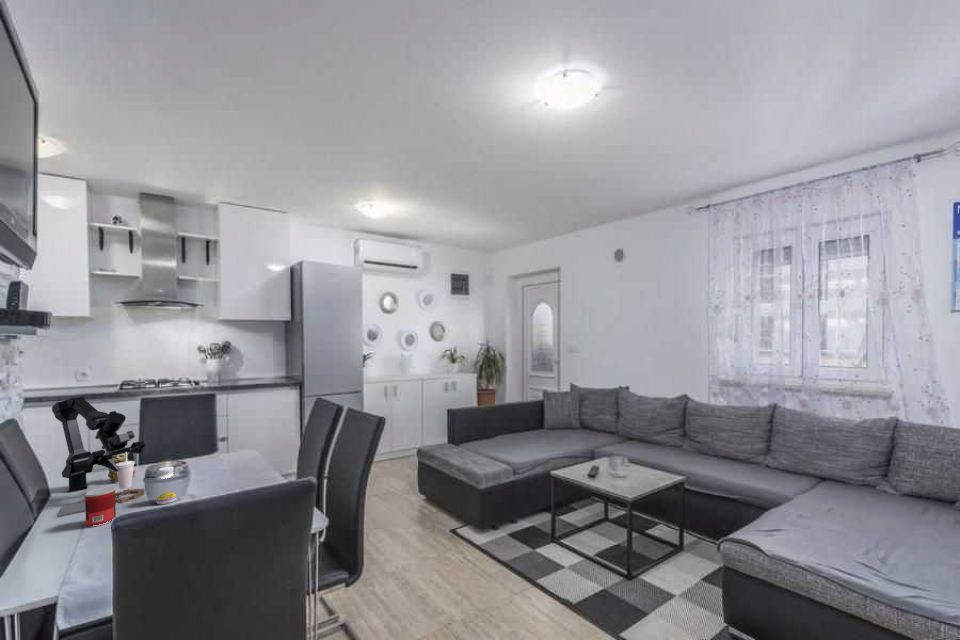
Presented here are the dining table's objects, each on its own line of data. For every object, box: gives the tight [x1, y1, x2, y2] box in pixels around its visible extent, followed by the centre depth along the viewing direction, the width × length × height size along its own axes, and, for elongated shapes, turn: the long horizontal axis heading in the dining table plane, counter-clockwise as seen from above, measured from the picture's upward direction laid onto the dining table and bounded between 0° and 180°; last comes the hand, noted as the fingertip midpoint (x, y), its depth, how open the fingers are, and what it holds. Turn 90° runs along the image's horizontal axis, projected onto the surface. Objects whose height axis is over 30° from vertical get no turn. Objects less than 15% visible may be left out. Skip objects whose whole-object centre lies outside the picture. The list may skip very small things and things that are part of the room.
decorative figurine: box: [107, 453, 136, 482], centre depth 199 cm, size 10×8×15 cm
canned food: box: [84, 486, 117, 527], centre depth 153 cm, size 8×8×11 cm
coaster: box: [57, 500, 86, 517], centre depth 168 cm, size 12×12×1 cm
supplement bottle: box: [155, 466, 178, 505], centre depth 170 cm, size 7×7×13 cm
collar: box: [115, 488, 145, 504], centre depth 177 cm, size 15×12×1 cm
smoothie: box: [116, 452, 135, 490], centre depth 177 cm, size 6×6×14 cm
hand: (127, 468), depth 177 cm, fingers closed on smoothie, 6 cm apart
